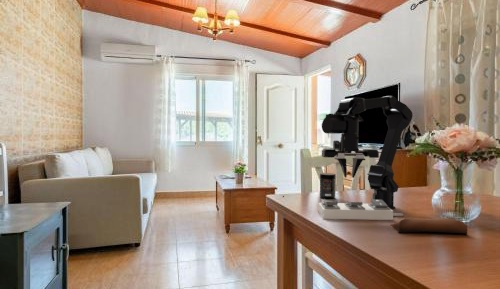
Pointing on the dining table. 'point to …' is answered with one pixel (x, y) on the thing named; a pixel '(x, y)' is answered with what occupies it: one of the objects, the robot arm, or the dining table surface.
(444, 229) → the sunglasses case
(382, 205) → the rocker
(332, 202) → the rocker
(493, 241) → the dining table surface
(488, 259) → the dining table surface
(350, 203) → the rocker middle
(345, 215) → the power strip
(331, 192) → the supplement container
